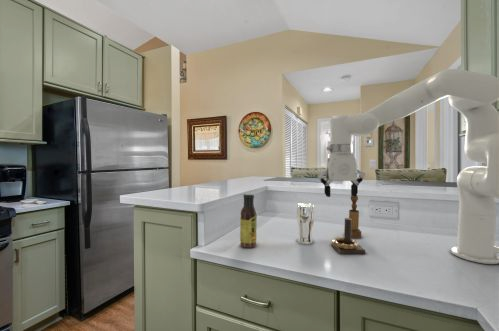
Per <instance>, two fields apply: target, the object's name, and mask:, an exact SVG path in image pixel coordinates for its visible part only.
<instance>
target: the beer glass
mask: <svg viewBox="0 0 499 331" xmlns="http://www.w3.org/2000/svg"><path fill="white" fill-rule="evenodd" d="M314 223H315V205H314V204H312V203H297V204H296V225H297V237H296V238H297V239H296V241H297V243H298V244H302V245H311V244H313V241H314V240H313V236H312V233H313V227H314Z"/></svg>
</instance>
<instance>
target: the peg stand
mask: <svg viewBox="0 0 499 331" xmlns="http://www.w3.org/2000/svg"><path fill="white" fill-rule="evenodd" d="M351 226H352V219H350V218H349V217H345V218H344V228H343V230H344V232H343V234H344V235H343V237H344V242H338V243H340V244H346V245H352V244H351V239H352V238H351ZM330 245H331V247H332V248H334V249H335V251H337V252H338V254H340V255H365V254H366V249H365V248H363V246H361V245H359V246H358V248H356V249H342V248H338V247H336V246H334V245H333V244H332V240H330Z"/></svg>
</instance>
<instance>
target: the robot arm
mask: <svg viewBox="0 0 499 331" xmlns="http://www.w3.org/2000/svg"><path fill="white" fill-rule="evenodd" d="M447 97H448V99H447V100H448V103H449V105H450V107H452V108H453V109H455V110H456V111H457V112H459V113H460V114H461V115H462V116H463V118H464V121H465V140H464V156H465V158H466V159H467V160H469V161H471V162H475V163H484V164H485V163H486V166H481V165H475V166H474V165H473V166H468V167H465V168H463V169H462V170H460V172H459V173H458V175H457V178H456V186H457V191H458V222H457V240H456V242H457V243H456V246H454V247H452V248H451V250H450V253H452V254H453V255H454V256H456V257H458V258H461V259H463V260H466V261H470V262H474V263H479V264H483V265H484V264H486V265H497V264H499V256H498V255H497V254H499V246H496V245H495V242H496V227H497V226H496V224H497V211H498V210H497V203H496V200H495V199H499V111H498V110H497V109H496V107H495V106H493V104H494V103H496V102H497V101H499V77H497V76H494V75H490V74H487V73H486V74H485V73H480V72H476V71H470V70H466V69H465V70H464V69H459V68H447V69H442V70H441V71H439V72H437V73H435V74H433V75H431V76H429V77H427V78H424V79H423V80H421V81H419V82H417V83H416V84H413V85H412V86H410V87H408V88H406V89H403V90H401V91H400V92H398V93H396V94H394V95H393V96H391V97H388V98H387V99H386V100H384V101H383V102H381V103H379V104H377V105H376V106H374V107H372V108H371V109H369V110H367V111H364V112H363V113H358V114H351V115H348V114H337V115H333V116H332V117H331V118H330V121H329V122H330V123H329V128H330V129H329V130H330V131H329V132H330V134H329V135H330V137H329V138H330V142H329V143H330V144H329V146H326V151H329V153H328V155H327V161H326V168H325V169H324V170H322V171H320V172H318V173H317V174H316V175H317V178H318V179H319V181H320V183H322V185H323V186H324V195H325V197H327V198H330V197H331V186H330V185H331V183H332V182H351V185H350V196H355V197H356V196H358V192H359V191H358V190H359V188H358V187H359V186H360V184H361V183H362V182H363V181H364V180H363V179H364V177H365V176H366V173H365V172H363V171H361V170H360V169H358V165H357V157H356V153H355V152H354V153H353V136H354V137H362V136H368V135H371V134H373V133H375V131H376V130H377V129H378V128H379V127H381V126H383V125H386V124H388V123H391V122H395V121H398V120H401V119H403V118H405V117H408V116H410V115H411V114H414V113H416V112H417V111H419V110H421V109H423V108H426V107H427V106H430V105H431V104H433V103H436V102H437V101H440V100H442V99H445V98H447ZM324 176H326V179H324Z"/></svg>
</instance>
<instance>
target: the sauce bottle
mask: <svg viewBox="0 0 499 331" xmlns="http://www.w3.org/2000/svg"><path fill="white" fill-rule="evenodd" d="M254 199H255V194H254V193H244V194H243V207H242V208H241V210H240V220H239V222H240V224H239V225H240V227H239V232H240V233H239V242H240V247H242V248H248V249H250V248H254V247H256V245H257V227H258V226H257V223H258V222H257V218H258V217H257V216H258V215H257V212H256V208H255V206H254Z"/></svg>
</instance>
